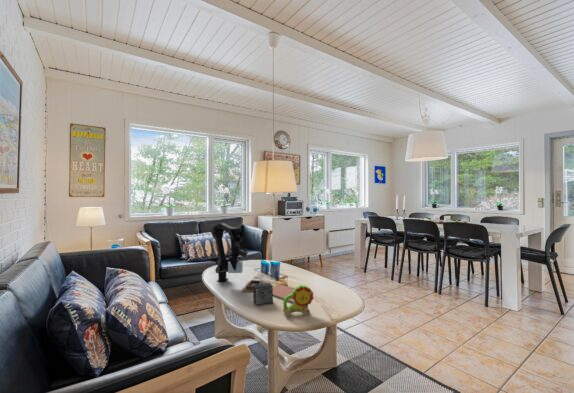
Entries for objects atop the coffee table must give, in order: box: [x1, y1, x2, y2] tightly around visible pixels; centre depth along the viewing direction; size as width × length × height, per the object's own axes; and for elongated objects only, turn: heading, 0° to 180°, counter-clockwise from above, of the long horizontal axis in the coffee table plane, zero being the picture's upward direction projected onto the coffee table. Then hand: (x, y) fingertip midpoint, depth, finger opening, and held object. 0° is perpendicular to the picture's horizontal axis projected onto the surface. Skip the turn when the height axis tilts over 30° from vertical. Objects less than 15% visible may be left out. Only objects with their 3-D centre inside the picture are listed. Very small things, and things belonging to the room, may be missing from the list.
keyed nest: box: [241, 279, 268, 293], centre depth 195 cm, size 18×13×3 cm
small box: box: [252, 282, 274, 306], centre depth 169 cm, size 11×6×10 cm, turn 109°
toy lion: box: [283, 284, 314, 318], centre depth 153 cm, size 16×5×15 cm, turn 99°
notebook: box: [273, 284, 295, 304], centre depth 182 cm, size 27×17×2 cm, turn 44°
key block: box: [227, 260, 244, 274], centre depth 198 cm, size 4×9×7 cm, turn 89°
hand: (235, 269), depth 198 cm, fingers closed on key block, 4 cm apart
